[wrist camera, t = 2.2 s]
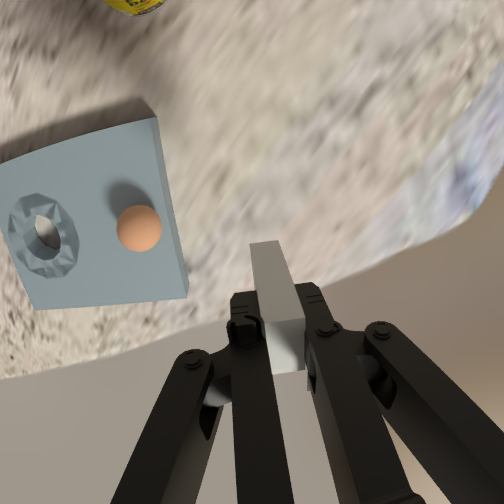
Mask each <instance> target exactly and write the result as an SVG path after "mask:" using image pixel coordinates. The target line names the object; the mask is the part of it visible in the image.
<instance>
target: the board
mask: <svg viewBox="0 0 504 504" xmlns="http://www.w3.org/2000/svg"><path fill="white" fill-rule="evenodd" d="M134 205H145V206H148V207H150V208H152V209H153V210H154V211H155V212H156V213H157V214H158V216H159V217H160V220H161V223H162V233H161V236H160V239H159V240H158V242H157V243H156V244H155V245H154V246H153V247H152V248H150V249H148V250H146V251H142V252H136V251H132V250H129V249H127V248H126V247H125V246H124V245H123V244H122V243H121V242H120V240H119V238H118V236H117V230H116V227H117V221H118V219H119V217H120V215H121V214H122V212H123V211H125V210H126V209H127V208H129V207H131V206H134ZM36 215H41V216H43V217H46V218H48V219H49V220H50V221H51V222H52V223H53V224H54V225H55V227H56V228H57V229H58V233H59V236H60V239H61V246H60V248H59V249H54V248H51V247H49V246H46V245H45V244H44V243H43V242H42V240H41V239H40V238H39V237H38V235H37V232H36V229H35V218H36ZM0 226H1V229H2V232H3V235H4V238H5V241H6V243H7V246H8V249H9V252H10V254H11V257H12V259H13V262H14V264H15V267H16V269H17V272H18V274H19V276H20V279H21V281H22V283H23V286H24V288H25V290H26V292H27V294H28V296H29V299H30V301H31V303H32V305H33V307H34V309H35V310H49V309H65V308H79V307H93V306H106V305H118V304H129V303H140V302H151V301H161V300H171V299H181V298H187V294H188V288H189V280H188V276H187V271H186V267H185V263H184V258H183V254H182V249H181V245H180V240H179V235H178V231H177V226H176V221H175V216H174V211H173V206H172V201H171V196H170V191H169V185H168V180H167V174H166V169H165V163H164V157H163V151H162V145H161V139H160V133H159V126H158V120H157V117H153V118H148V119H143V120H139V121H134V122H130V123H126V124H122V125H118V126H114V127H110V128H106V129H102V130H98V131H95V132H91V133H88V134H84V135H81V136H78V137H74V138H71V139H68V140H65V141H61V142H58V143H55V144H52V145H49V146H46V147H44V148H41V149H38V150H35V151H32V152H30V153H27V154H24V155H22V156H19V157H17V158H14V159H12V160H9V161H7V162H4V163H2V164H0Z"/></svg>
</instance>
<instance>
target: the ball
mask: <svg viewBox="0 0 504 504" xmlns="http://www.w3.org/2000/svg"><path fill="white" fill-rule="evenodd" d="M116 230H117V236H118V238H119V240H120V242H121V243H122V244H123V245H124V246H125V247H126V248H127V249H129V250H132V251H136V252H142V251H146V250H148V249H150V248H152V247H153V246H154V245H155V244H156V243H157V242H158V240H159V239H160V236H161V233H162V223H161V220H160V217H159V216H158V214H157V213H156V212H155V211H154V210H153V209H152V208H150V207H148V206H145V205H134V206H131V207H129V208H127V209H126V210H125V211H123V212H122V214H121V215H120V217H119V219H118V221H117V227H116Z"/></svg>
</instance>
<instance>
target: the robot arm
mask: <svg viewBox="0 0 504 504" xmlns="http://www.w3.org/2000/svg"><path fill="white" fill-rule="evenodd" d="M250 251H251V259H252V268H253V276H254V285H255V291H247V292H239V293H234V295H233V296H232V298H231V300H230V312H231V319H230V320H229V321H228V323H227V326H226V328H227V333H228V338H229V344H228V345H227V346H226V347H225V348H224V349H222V350H220V351H218V352H215V353H213V354H210V355H209V353H207V352H206V351H204V350H200V349H192V350H188V351H185V352H183V353H182V354H180V355H179V356H178V357H177V359H176V360H175V362H174V364H173V367H172V369H171V371H170V373H169V375H168V377H167V379H166V381H165V384H164V386H163V388H162V390H161V392H160V394H159V397H158V399H157V401H156V403H155V405H154V407H153V409H152V412H151V414H150V416H149V418H148V420H147V422H146V425H145V427H144V429H143V431H142V433H141V436H140V438H139V440H138V442H137V444H136V447H135V449H134V451H133V453H132V455H131V458H130V460H129V462H128V464H127V467H126V469H125V471H124V473H123V476H122V478H121V480H120V482H119V485H118V487H117V489H116V492H115V494H114V496H113V498H112V501H111V503H110V504H195V503H196V499H197V496H198V493H199V489H200V486H201V482H202V479H203V476H204V473H205V469H206V466H207V462H208V459H209V456H210V452H211V449H212V445H213V442H214V439H215V435H216V432H217V428H218V425H219V421H220V418H221V414H222V411H223V407H224V404H227V403H229V402H232V414H233V433H234V453H235V469H236V486H237V501H238V504H294V499H293V493H292V488H291V481H290V475H289V469H288V464H287V459H286V452H285V446H284V440H283V434H282V429H281V423H280V417H279V411H278V405H277V400H276V393H275V388H274V382H273V376H272V375H273V374H279V373H286V372H293V371H299V370H305V362H306V366H307V369H308V382H307V391H310V390H311V394H312V398H313V402H314V405H315V409H316V413H317V417H318V420H319V424H320V428H321V432H322V436H323V440H324V444H325V448H326V452H327V456H328V459H329V463H330V467H331V471H332V475H333V479H334V483H335V487H336V492H337V496H338V500H339V503H340V504H426V503H425V501H424V499H423V498H422V497H421V496H420V495H419V494H416V493H414V492H413V491H412V489H411V487H410V485H409V482H408V480H407V477H406V475H405V472H404V469H403V467H402V464H401V461H400V459H399V457H398V454H397V451H396V449H395V446H394V444H393V441H392V439H391V436H390V434H389V431H388V429H387V426H386V424H385V422H384V419H383V417H384V418H385V419H386V420H387V422H388V423H389V424H390V426H391V427H392V428H393V429H394V431H395V432H396V433H397V434H398V436H399V437H400V438H401V440H402V441H403V442H404V443H405V445H406V446H407V447H408V449H409V450H410V451H411V452H412V454H413V455H414V456H415V457H416V459H417V460H418V461H419V463H420V464H421V465H422V466H423V468H424V469H425V470H426V472H427V473H428V474H429V475H430V477H431V478H432V479H433V481H434V482H435V483H436V485H437V486H438V487H439V488H440V490H441V491H442V492H443V493H444V494H445V496H446V497H447V499H448V500H449V501H450V503H451V504H504V432H503V431H502V430H501V429H500V428H499V427H498V426H497V425H496V424H495V423H494V422H493V421H492V420H491V419H490V418H489V417H488V416H487V415H486V414H485V413H484V412H483V411H482V410H481V409H480V408H479V407H478V406H477V405H476V404H475V403H474V402H473V401H472V400H471V399H470V398H469V396H467V394H466V393H464V392H463V391H462V390H461V389H460V388H459V387H458V386H457V385H456V384H455V383H454V382H453V381H452V380H451V379H450V378H449V377H448V376H447V375H446V374H445V373H444V372H443V371H442V370H441V369H440V368H439V367H438V366H437V365H436V364H435V363H434V362H433V361H432V360H431V359H430V358H429V357H428V356H427V355H425V354H424V353H423V352H422V351H421V350H420V349H419V348H418V347H417V346H416V345H415V344H414V343H413V342H412V341H411V340H410V339H408V337H406V336H405V335H404V334H403V333H402V332H401V331H400V330H399V329H398V328H397V327H395V326H394V325H393V324H391V323H388V322H385V321H377V322H373V323H371V324H369V325H368V326H367V327H366V329H365V331H350V330H346V329H343V327H342V326H341V325H340V323H338V322H336V321H334V319H333V317H332V315H331V312H330V310H329V308H328V306H327V304H326V302H325V299H324V297H323V296H322V293H321V291H320V289H319V287H318V286H316V285H315V284H314V283H312V282H308V283H301V284H294V283H293V280H292V278H291V275H290V272H289V269H288V266H287V264H286V261H285V258H284V255H283V252H282V250H281V247H280V244H279V241H278V240H276V241H268V242H260V243H252V244H250ZM382 415H383V417H382Z"/></svg>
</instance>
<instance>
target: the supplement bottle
mask: <svg viewBox="0 0 504 504" xmlns="http://www.w3.org/2000/svg"><path fill="white" fill-rule="evenodd" d="M103 1H104V2H106V3H107V4H108V5H110V6H111V7H112V8H114V9H115V10H116V11H118V12H119V13H121V14H123V15H126V16H143V15H146V14H149V13H152V12H154V11H156V10H157V9H159V8H160V7H161V6H163V5H164V4H165V3H166V2H167V0H103Z"/></svg>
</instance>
